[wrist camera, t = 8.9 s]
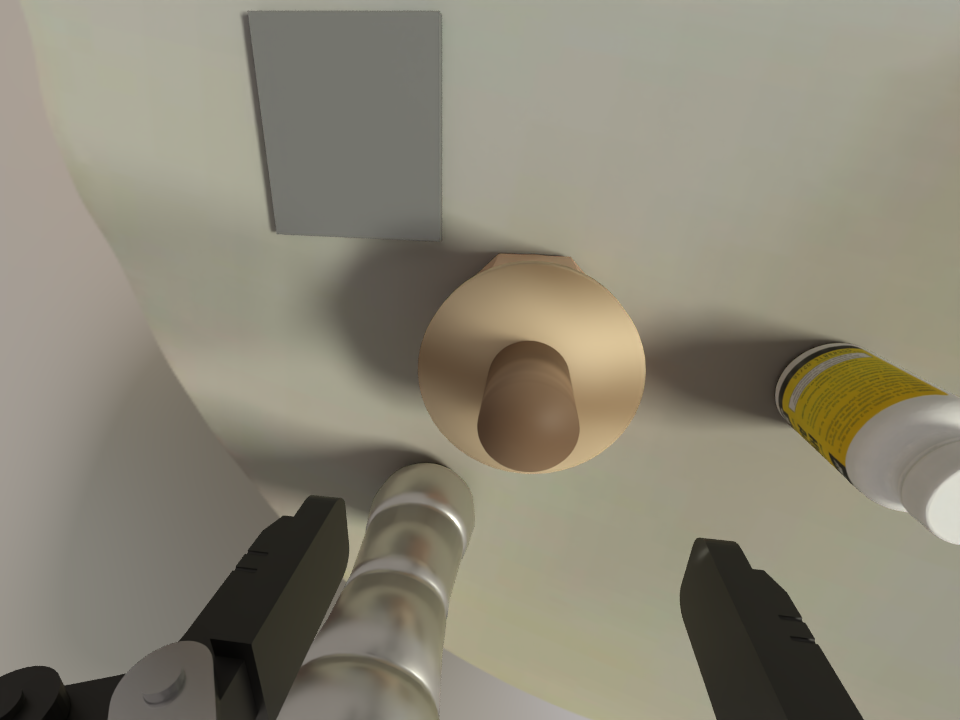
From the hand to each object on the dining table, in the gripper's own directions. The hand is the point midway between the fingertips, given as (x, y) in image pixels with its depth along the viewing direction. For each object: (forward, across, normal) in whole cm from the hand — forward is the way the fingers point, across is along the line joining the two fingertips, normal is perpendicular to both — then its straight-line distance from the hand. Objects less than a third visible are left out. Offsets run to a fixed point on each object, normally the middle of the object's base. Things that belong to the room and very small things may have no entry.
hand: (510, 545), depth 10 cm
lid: (+12, 0, 0) cm, 12 cm away
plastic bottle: (+16, +5, +12) cm, 21 cm away
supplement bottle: (+17, -17, +2) cm, 24 cm away
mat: (+17, +9, -9) cm, 21 cm away
